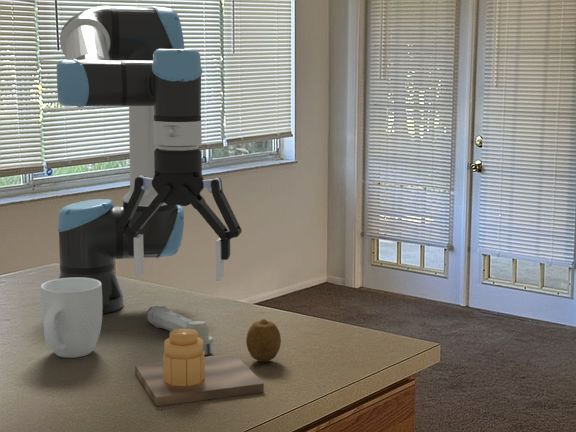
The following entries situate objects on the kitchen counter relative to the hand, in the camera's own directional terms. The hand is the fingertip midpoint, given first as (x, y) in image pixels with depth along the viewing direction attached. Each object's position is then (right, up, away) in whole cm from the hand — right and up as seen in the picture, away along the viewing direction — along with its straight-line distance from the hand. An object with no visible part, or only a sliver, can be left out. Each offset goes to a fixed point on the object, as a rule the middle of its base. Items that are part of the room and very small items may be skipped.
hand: (179, 277), depth 145 cm
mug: (-22, -16, +19) cm, 33 cm away
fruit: (+13, -17, +16) cm, 27 cm away
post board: (+2, -18, +5) cm, 19 cm away
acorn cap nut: (0, -17, +3) cm, 17 cm away
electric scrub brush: (-4, -15, +29) cm, 32 cm away
